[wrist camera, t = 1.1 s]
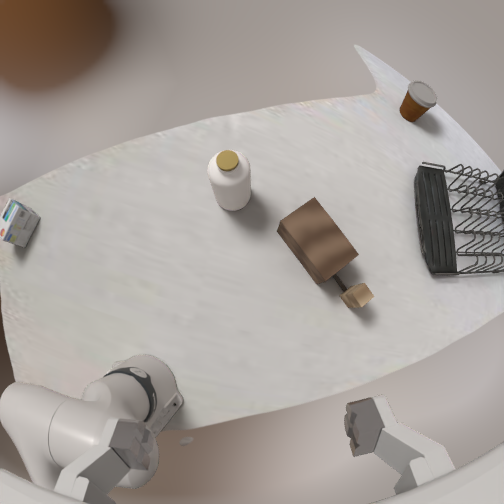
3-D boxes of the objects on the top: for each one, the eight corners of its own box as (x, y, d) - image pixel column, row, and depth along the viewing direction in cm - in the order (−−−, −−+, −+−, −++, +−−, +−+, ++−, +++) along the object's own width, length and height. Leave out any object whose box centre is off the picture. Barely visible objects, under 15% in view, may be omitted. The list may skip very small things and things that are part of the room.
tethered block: (361, 296, 65) (376, 294, 56) (345, 309, 64) (359, 309, 55) (307, 223, 68) (315, 210, 59) (290, 235, 67) (296, 224, 59)
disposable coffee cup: (400, 97, 76) (414, 74, 64) (424, 114, 75) (440, 93, 63) (390, 113, 74) (406, 89, 63) (416, 131, 73) (434, 110, 62)
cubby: (346, 261, 66) (358, 254, 58) (316, 284, 65) (325, 281, 57) (307, 210, 69) (314, 197, 60) (277, 231, 68) (280, 220, 59)
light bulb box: (30, 207, 69) (9, 196, 59) (41, 217, 69) (19, 206, 58) (15, 238, 68) (-8, 229, 57) (25, 248, 67) (2, 241, 56)
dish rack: (515, 278, 65) (540, 273, 53) (416, 284, 65) (443, 279, 54) (500, 180, 72) (521, 167, 60) (401, 161, 72) (421, 140, 60)
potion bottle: (224, 175, 70) (216, 135, 52) (256, 186, 70) (257, 148, 52) (210, 204, 69) (196, 171, 51) (242, 217, 68) (239, 186, 50)
